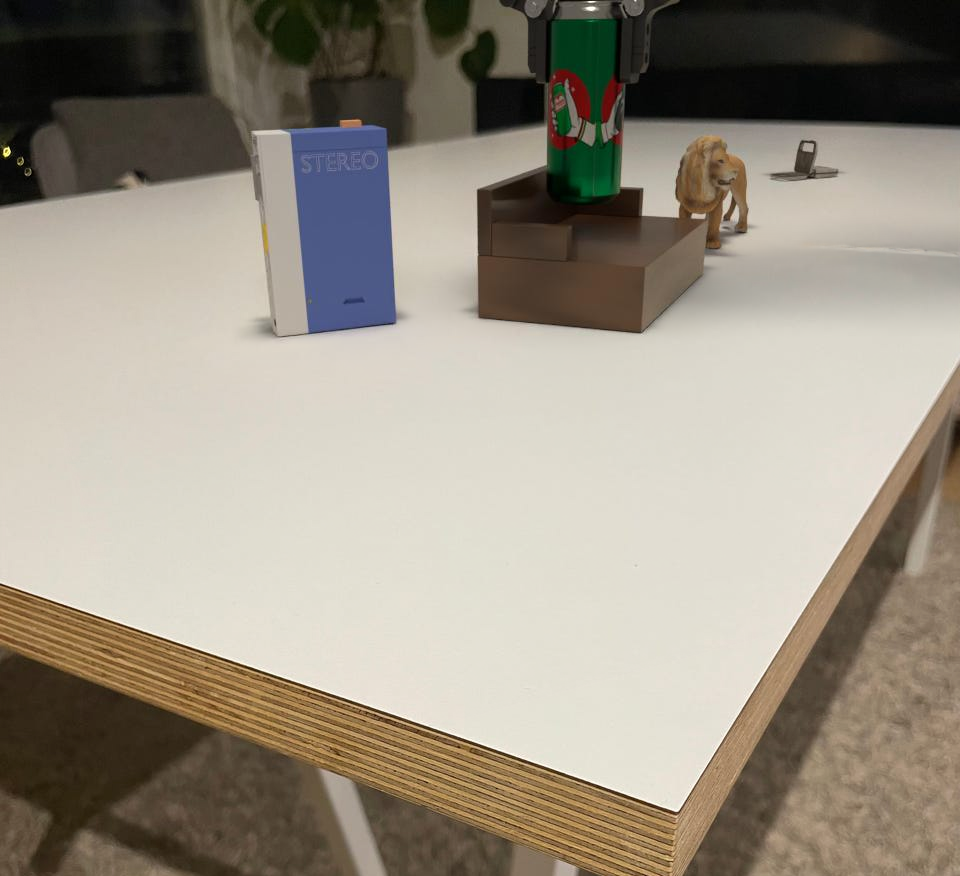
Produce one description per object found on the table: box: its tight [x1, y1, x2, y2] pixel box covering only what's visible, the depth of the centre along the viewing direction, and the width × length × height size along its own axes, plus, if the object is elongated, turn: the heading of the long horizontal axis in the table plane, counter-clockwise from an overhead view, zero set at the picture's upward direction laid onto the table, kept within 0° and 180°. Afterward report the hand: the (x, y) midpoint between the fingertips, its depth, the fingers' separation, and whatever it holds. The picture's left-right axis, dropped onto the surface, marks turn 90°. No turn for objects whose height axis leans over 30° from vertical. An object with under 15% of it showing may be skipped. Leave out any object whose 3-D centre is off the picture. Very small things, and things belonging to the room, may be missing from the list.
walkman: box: [250, 119, 397, 338], centre depth 64 cm, size 8×3×12 cm, turn 112°
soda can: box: [546, 0, 627, 205], centre depth 68 cm, size 5×5×12 cm
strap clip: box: [769, 138, 839, 181], centre depth 124 cm, size 8×3×4 cm, turn 115°
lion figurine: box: [674, 134, 750, 249], centre depth 89 cm, size 15×5×9 cm, turn 160°
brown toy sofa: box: [476, 164, 708, 334], centre depth 72 cm, size 11×18×8 cm, turn 157°
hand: (586, 81), depth 68 cm, fingers closed on soda can, 5 cm apart
